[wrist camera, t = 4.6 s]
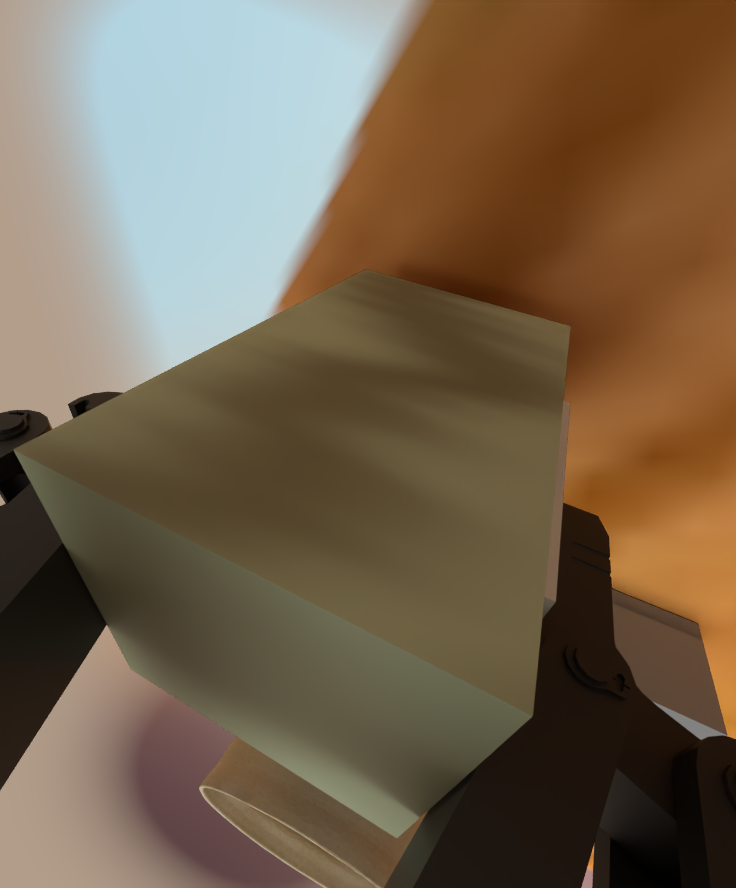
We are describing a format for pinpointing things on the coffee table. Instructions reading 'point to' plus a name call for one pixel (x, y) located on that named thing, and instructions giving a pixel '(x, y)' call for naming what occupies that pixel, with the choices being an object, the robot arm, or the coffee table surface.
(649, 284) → the coffee table surface
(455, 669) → the olive block
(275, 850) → the planter bowl
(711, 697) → the bin
